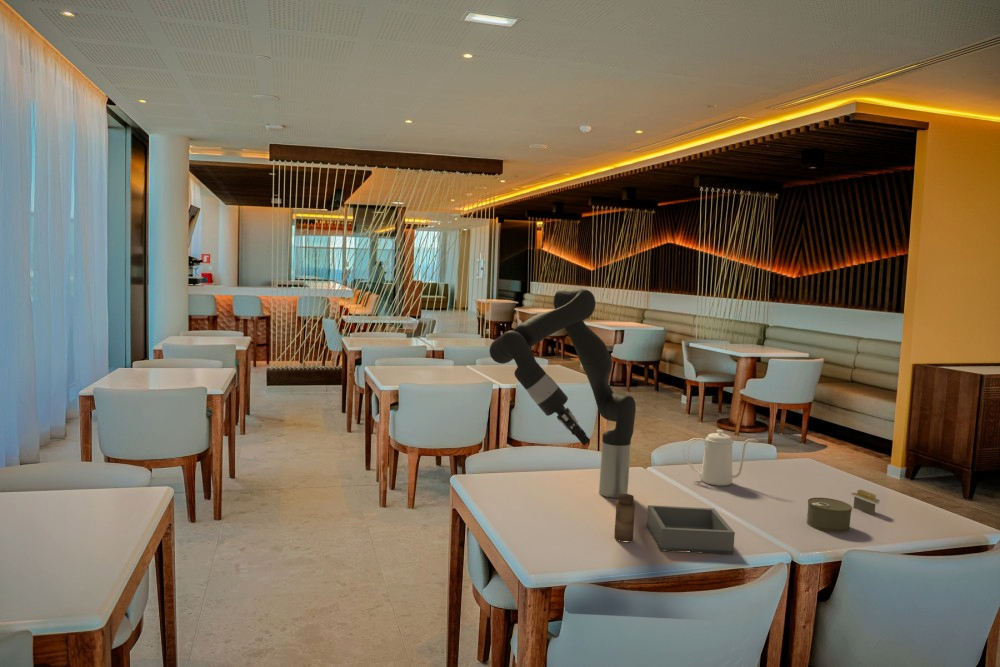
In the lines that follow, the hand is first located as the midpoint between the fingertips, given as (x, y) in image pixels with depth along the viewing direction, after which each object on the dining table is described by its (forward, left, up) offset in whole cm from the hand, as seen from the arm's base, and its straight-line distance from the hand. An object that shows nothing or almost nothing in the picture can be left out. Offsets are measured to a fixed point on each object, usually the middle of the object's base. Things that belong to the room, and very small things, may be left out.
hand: (585, 439), depth 194 cm
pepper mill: (0, +12, -27) cm, 29 cm away
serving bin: (-2, +30, -27) cm, 40 cm away
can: (-19, +76, -27) cm, 83 cm away
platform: (-35, +95, -28) cm, 105 cm away
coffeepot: (-60, +55, -27) cm, 86 cm away
